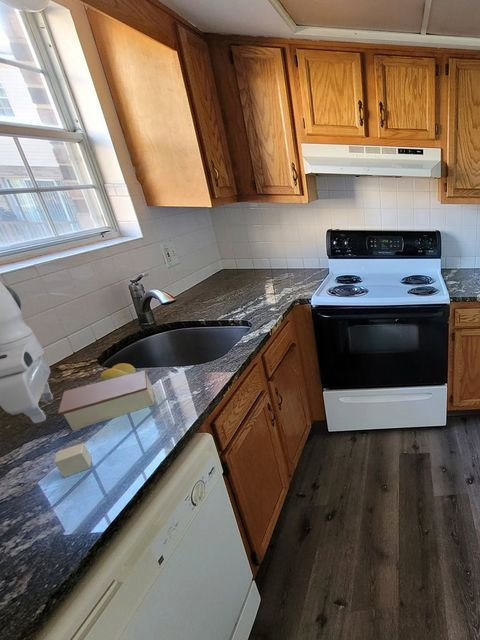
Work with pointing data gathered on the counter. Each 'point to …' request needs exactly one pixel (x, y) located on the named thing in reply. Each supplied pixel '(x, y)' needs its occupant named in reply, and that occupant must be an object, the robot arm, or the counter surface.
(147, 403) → the case
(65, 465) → the tan block
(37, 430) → the counter surface
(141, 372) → the cover
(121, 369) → the yellow rounded lump
